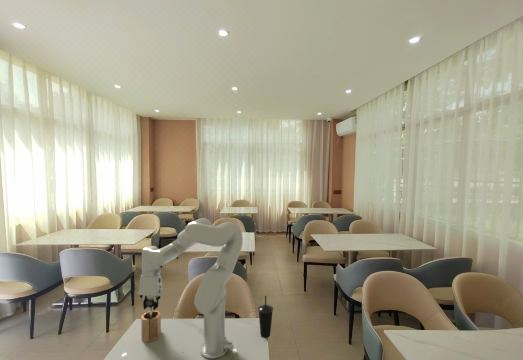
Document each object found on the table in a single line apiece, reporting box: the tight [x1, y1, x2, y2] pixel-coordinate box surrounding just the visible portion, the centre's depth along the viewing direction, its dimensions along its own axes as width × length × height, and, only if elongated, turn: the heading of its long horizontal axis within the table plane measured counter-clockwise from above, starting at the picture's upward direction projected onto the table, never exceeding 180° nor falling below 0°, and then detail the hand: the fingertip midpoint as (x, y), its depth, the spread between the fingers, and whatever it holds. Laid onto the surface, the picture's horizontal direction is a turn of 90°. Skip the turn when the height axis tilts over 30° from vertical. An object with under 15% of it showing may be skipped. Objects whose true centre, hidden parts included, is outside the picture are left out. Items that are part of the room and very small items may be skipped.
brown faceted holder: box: [140, 309, 162, 343], centre depth 130 cm, size 9×10×11 cm
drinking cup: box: [257, 295, 274, 339], centre depth 131 cm, size 8×8×20 cm
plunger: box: [146, 297, 154, 319], centre depth 129 cm, size 5×5×15 cm
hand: (150, 307), depth 129 cm, fingers closed on plunger, 4 cm apart
